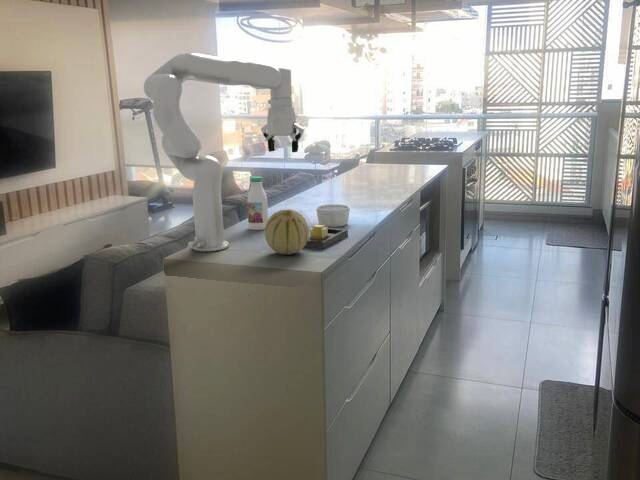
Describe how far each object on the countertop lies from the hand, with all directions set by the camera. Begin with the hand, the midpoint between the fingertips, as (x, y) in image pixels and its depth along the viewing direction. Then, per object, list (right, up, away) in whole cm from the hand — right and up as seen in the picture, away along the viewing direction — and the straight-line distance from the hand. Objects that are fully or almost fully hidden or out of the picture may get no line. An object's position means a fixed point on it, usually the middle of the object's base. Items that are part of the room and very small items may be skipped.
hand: (283, 151), depth 223 cm
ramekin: (+19, -26, +20) cm, 38 cm away
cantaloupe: (+3, -37, -21) cm, 42 cm away
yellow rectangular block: (+13, -34, -11) cm, 38 cm away
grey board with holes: (+15, -33, -6) cm, 37 cm away
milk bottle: (-11, -28, +16) cm, 34 cm away
